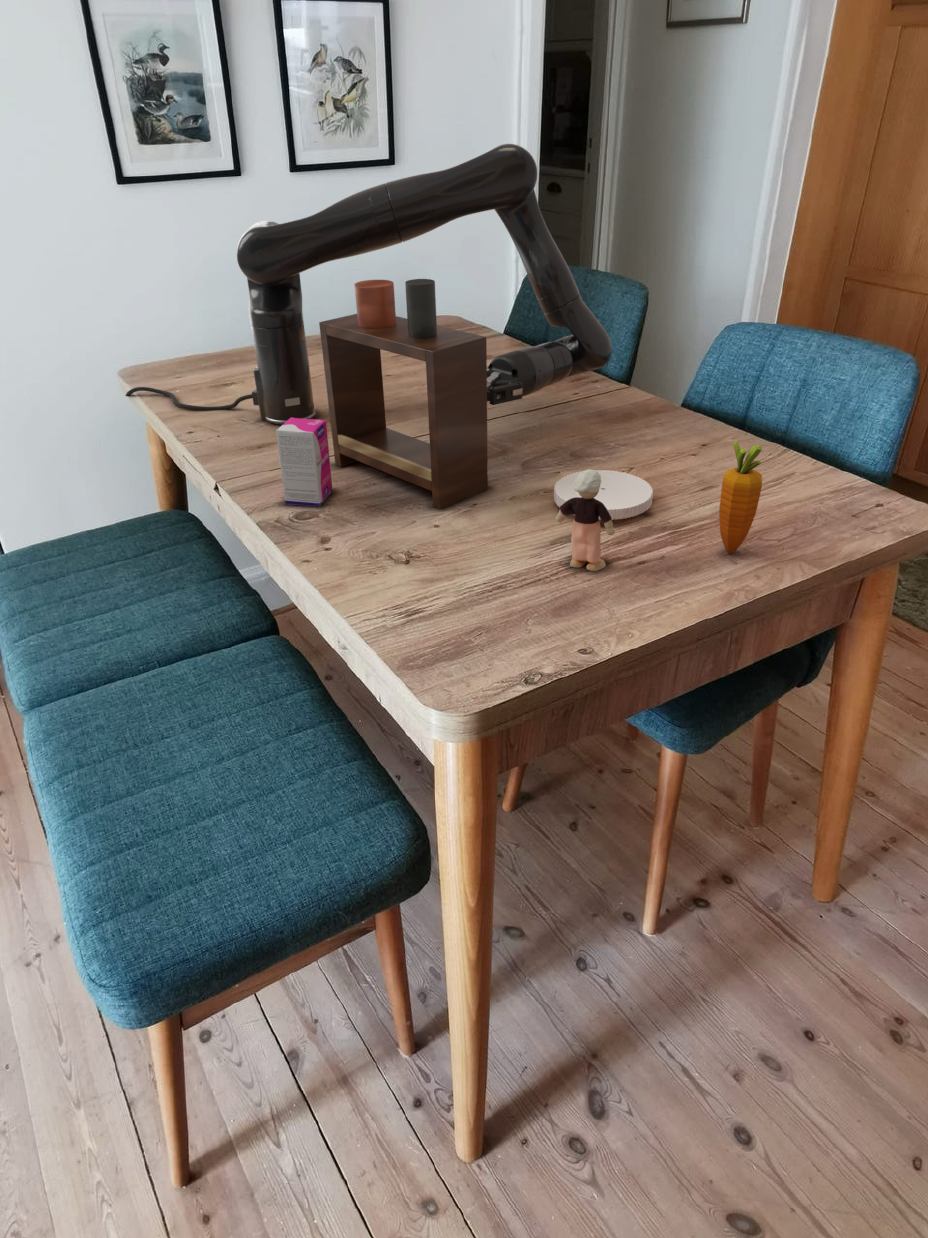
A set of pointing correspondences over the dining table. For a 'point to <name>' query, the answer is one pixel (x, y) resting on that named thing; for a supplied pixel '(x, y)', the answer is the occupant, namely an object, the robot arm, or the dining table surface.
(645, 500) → the plastic lid
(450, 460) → the spice rack
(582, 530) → the grandmother figurine
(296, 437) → the supplement box
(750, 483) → the carrot
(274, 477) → the dining table surface
